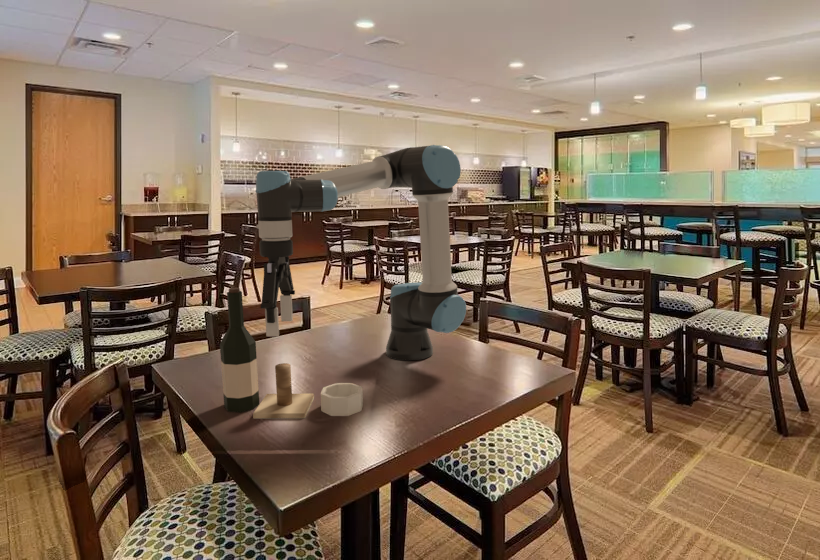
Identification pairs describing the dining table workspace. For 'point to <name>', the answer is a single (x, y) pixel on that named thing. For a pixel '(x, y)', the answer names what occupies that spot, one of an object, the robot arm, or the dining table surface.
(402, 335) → the robot arm
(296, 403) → the beech lid
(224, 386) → the wine bottle
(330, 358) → the dining table surface
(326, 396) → the bowl
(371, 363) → the dining table surface
